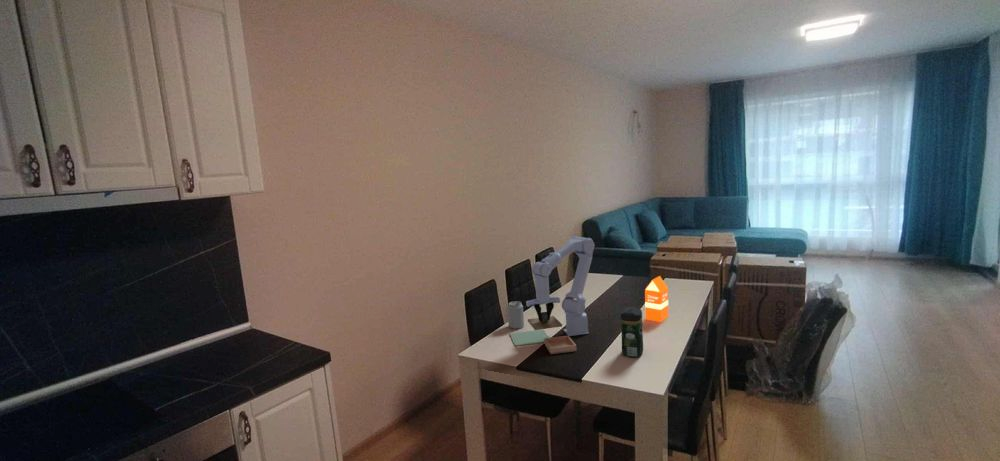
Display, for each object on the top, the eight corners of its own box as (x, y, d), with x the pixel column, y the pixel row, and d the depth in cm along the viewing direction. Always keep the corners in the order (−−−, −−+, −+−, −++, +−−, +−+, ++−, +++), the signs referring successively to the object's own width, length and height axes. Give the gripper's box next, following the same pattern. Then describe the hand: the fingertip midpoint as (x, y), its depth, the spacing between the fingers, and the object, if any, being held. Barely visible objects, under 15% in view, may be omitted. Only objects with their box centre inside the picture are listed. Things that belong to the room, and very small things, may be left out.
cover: (553, 317, 201) (553, 307, 201) (562, 326, 190) (561, 315, 189) (527, 321, 199) (527, 310, 198) (534, 330, 187) (534, 319, 187)
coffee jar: (625, 346, 186) (624, 304, 184) (645, 349, 182) (644, 305, 180) (619, 356, 178) (618, 311, 175) (639, 359, 174) (638, 313, 171)
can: (523, 329, 213) (521, 305, 212) (507, 329, 215) (505, 305, 213) (525, 323, 221) (523, 300, 219) (510, 323, 222) (508, 300, 220)
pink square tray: (568, 340, 196) (568, 335, 196) (576, 350, 186) (576, 345, 185) (544, 344, 195) (543, 338, 194) (550, 354, 184) (550, 348, 184)
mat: (543, 330, 210) (543, 329, 210) (551, 341, 197) (550, 340, 197) (509, 334, 208) (509, 333, 208) (515, 346, 195) (515, 345, 194)
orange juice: (668, 316, 217) (668, 276, 214) (660, 322, 211) (660, 280, 208) (653, 313, 222) (652, 274, 219) (645, 319, 216) (644, 278, 213)
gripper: (528, 294, 187) (530, 325, 189) (561, 290, 190) (563, 321, 192) (524, 289, 194) (526, 319, 196) (556, 286, 196) (558, 315, 198)
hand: (544, 320), depth 194 cm, fingers closed on cover, 3 cm apart
